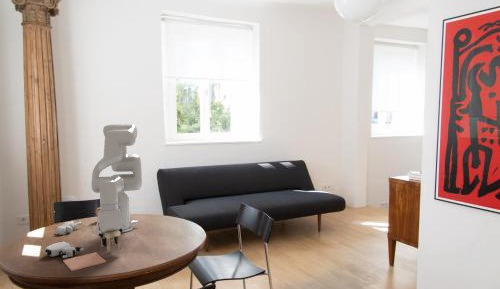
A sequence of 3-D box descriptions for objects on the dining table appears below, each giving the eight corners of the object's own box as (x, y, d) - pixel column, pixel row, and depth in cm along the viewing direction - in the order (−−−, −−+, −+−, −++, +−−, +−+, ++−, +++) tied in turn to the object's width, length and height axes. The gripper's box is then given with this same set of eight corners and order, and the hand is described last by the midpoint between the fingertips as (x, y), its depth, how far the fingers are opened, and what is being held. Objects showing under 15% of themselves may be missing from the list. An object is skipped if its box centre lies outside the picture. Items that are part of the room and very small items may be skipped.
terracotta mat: (95, 253, 171) (95, 252, 171) (106, 262, 160) (106, 261, 160) (62, 261, 162) (62, 260, 162) (71, 271, 151) (71, 269, 151)
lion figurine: (101, 223, 220) (100, 208, 220) (93, 222, 222) (93, 208, 221) (115, 216, 234) (115, 203, 234) (108, 216, 236) (108, 202, 235)
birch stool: (113, 243, 175) (113, 227, 175) (121, 248, 169) (120, 231, 168) (101, 246, 172) (100, 229, 171) (107, 251, 165) (107, 234, 164)
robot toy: (85, 254, 172) (62, 248, 178) (85, 245, 172) (62, 239, 177) (63, 264, 161) (39, 257, 167) (63, 254, 161) (39, 247, 166)
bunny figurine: (50, 228, 198) (69, 217, 212) (51, 237, 199) (70, 226, 213) (65, 229, 196) (83, 218, 210) (66, 238, 197) (84, 226, 211)
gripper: (124, 201, 176) (125, 238, 178) (87, 208, 166) (89, 247, 167) (130, 204, 171) (131, 242, 173) (92, 211, 160) (94, 252, 162)
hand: (110, 244), depth 170 cm, fingers closed on birch stool, 4 cm apart
